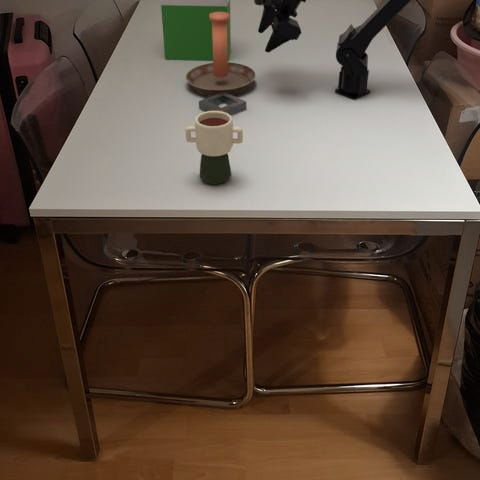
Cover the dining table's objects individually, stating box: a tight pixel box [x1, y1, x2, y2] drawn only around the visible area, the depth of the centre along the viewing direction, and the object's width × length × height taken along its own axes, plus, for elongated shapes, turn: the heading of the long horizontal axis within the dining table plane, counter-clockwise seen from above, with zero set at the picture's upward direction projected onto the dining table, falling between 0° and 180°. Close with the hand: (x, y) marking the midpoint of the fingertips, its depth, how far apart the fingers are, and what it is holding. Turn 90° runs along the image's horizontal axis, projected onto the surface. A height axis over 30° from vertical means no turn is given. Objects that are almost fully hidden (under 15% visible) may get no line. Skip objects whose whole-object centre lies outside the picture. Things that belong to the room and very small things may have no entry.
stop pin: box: [209, 12, 229, 77], centre depth 159 cm, size 5×5×15 cm
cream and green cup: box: [185, 111, 244, 185], centre depth 125 cm, size 11×7×13 cm, turn 86°
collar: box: [198, 92, 247, 116], centre depth 154 cm, size 8×8×2 cm
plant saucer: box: [185, 61, 256, 97], centre depth 165 cm, size 18×18×3 cm
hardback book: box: [160, 0, 232, 62], centre depth 175 cm, size 18×7×24 cm, turn 85°
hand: (263, 41), depth 158 cm, fingers open, 9 cm apart
